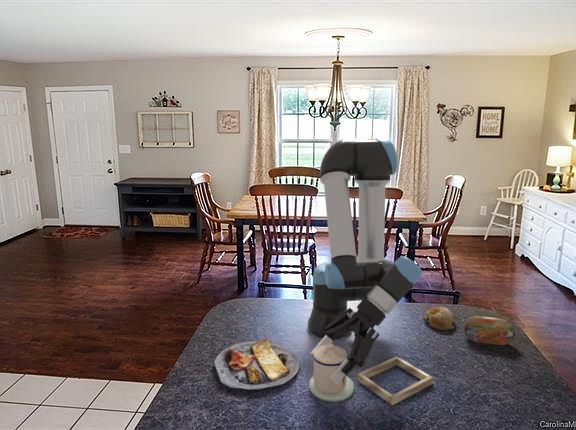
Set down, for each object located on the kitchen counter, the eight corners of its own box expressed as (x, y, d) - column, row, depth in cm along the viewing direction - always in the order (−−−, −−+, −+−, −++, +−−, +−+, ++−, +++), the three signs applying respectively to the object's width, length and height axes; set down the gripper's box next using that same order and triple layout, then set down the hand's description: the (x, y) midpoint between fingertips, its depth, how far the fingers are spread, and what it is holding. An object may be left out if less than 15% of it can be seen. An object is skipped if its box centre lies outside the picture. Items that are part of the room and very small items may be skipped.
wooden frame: (357, 380, 121) (357, 373, 121) (396, 362, 130) (396, 356, 130) (392, 405, 111) (392, 398, 111) (432, 383, 120) (432, 377, 119)
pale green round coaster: (300, 384, 120) (300, 381, 119) (334, 370, 126) (334, 366, 126) (328, 407, 110) (328, 404, 110) (363, 391, 117) (363, 387, 116)
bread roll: (444, 341, 149) (456, 324, 146) (418, 323, 153) (429, 306, 150) (450, 329, 158) (462, 313, 154) (425, 312, 161) (436, 296, 158)
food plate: (208, 352, 135) (208, 342, 134) (279, 340, 143) (279, 331, 142) (225, 404, 112) (225, 392, 112) (309, 386, 120) (309, 375, 119)
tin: (463, 340, 143) (465, 317, 141) (462, 335, 146) (464, 312, 144) (513, 347, 139) (516, 323, 137) (511, 342, 142) (514, 318, 140)
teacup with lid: (350, 393, 112) (351, 352, 110) (316, 396, 111) (316, 355, 108) (339, 367, 124) (340, 330, 121) (308, 370, 123) (308, 332, 120)
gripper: (410, 334, 108) (353, 401, 106) (362, 296, 130) (314, 352, 128) (393, 317, 105) (333, 387, 103) (347, 282, 127) (297, 338, 125)
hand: (323, 367), depth 116 cm, fingers closed on teacup with lid, 12 cm apart
